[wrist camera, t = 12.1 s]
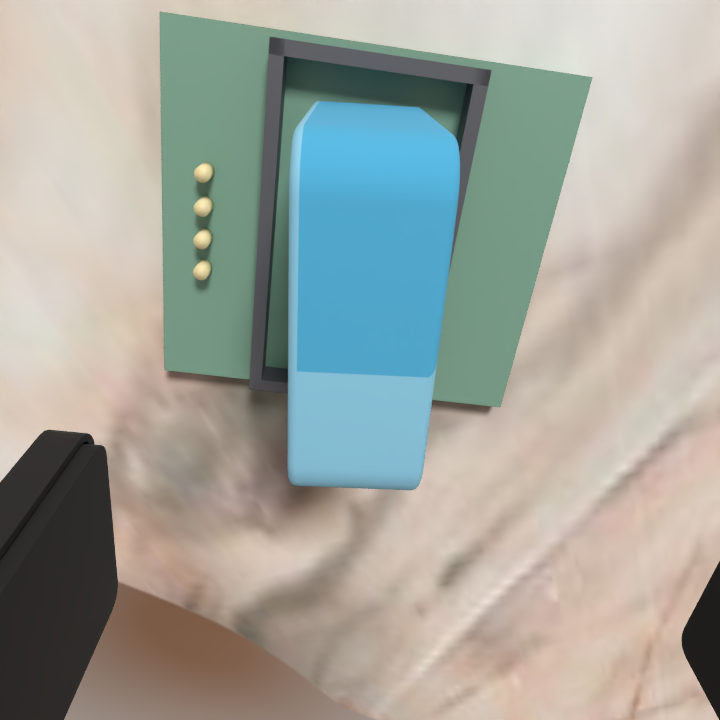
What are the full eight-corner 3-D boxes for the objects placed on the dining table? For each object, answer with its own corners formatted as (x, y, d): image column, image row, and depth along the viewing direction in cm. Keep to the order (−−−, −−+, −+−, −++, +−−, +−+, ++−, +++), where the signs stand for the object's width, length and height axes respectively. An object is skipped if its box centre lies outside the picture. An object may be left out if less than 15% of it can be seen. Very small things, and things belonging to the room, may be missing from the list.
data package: (396, 354, 31) (418, 511, 21) (308, 350, 31) (286, 506, 20) (420, 104, 26) (467, 140, 15) (314, 97, 26) (288, 129, 15)
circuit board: (582, 76, 27) (605, 78, 24) (495, 395, 34) (506, 422, 32) (167, 13, 25) (148, 9, 23) (170, 359, 33) (156, 384, 30)
